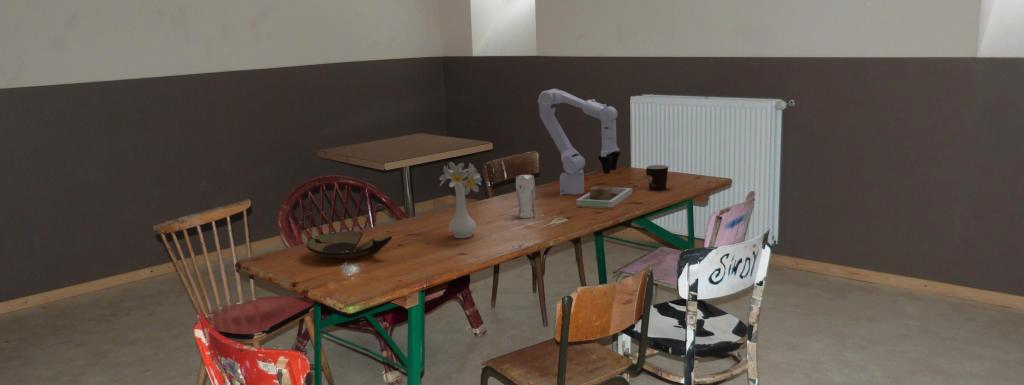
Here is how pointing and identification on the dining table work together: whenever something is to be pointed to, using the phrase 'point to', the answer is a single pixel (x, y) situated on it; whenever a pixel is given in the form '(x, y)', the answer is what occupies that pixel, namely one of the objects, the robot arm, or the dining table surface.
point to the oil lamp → (345, 245)
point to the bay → (604, 203)
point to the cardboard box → (600, 193)
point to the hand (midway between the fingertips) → (610, 171)
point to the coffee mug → (657, 177)
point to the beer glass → (525, 195)
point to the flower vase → (461, 197)
